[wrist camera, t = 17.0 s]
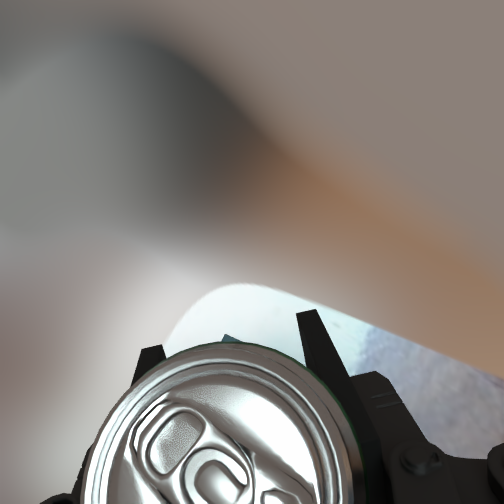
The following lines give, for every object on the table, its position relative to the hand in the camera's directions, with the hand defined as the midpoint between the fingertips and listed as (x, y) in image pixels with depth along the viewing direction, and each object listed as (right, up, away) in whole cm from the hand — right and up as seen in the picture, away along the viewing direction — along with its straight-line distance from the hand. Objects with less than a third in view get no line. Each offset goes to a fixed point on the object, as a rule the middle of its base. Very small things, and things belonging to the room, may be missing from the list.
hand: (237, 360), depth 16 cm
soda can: (+1, -5, +2) cm, 5 cm away
